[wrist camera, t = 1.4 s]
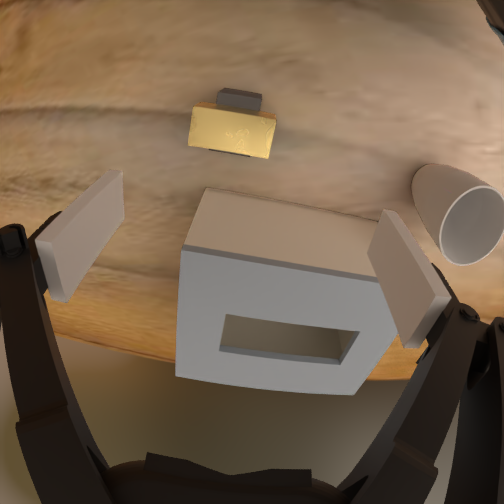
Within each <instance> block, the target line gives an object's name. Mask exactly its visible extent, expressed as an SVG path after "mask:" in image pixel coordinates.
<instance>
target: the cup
mask: <svg viewBox="0 0 504 504" xmlns="http://www.w3.org/2000/svg"><path fill="white" fill-rule="evenodd" d="M411 191H412V195H413V199H414V203H415V207H416V209H417V211H418V213H419V215H420V217H421V219H422V221H423V223H424V225H425V227H426V229H427V231H428V233H429V234H430V236H431V237H432V239H433V240H434V242H435V243H436V245H437V246H438V248H439V249H440V251H441V253H442V254H443V256H444V257H445V258H446V260H448V261H449V262H450V263H452V264H454V265H458V266H467V265H471V264H474V263H476V262H478V261H480V260H482V259H483V258H485V257H486V256H487V255H488V254H490V253H491V252H492V250H493V249H494V248H495V247H496V246H497V244H498V243H499V241H500V239H501V237H502V235H503V233H504V197H503V196H502V194H501V193H500V192H499V191H498V190H497V189H495V188H494V187H492V186H490V185H489V184H487V183H485V182H484V181H482V180H480V179H479V178H477V177H475V176H474V175H472V174H470V173H468V172H465V171H462V170H460V169H457V168H454V167H451V166H448V165H440V164H428V165H425V166H423V167H421V168H420V169H419V170H418V171H417V172H416V174H415V175H414V177H413V180H412V184H411Z"/></svg>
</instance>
